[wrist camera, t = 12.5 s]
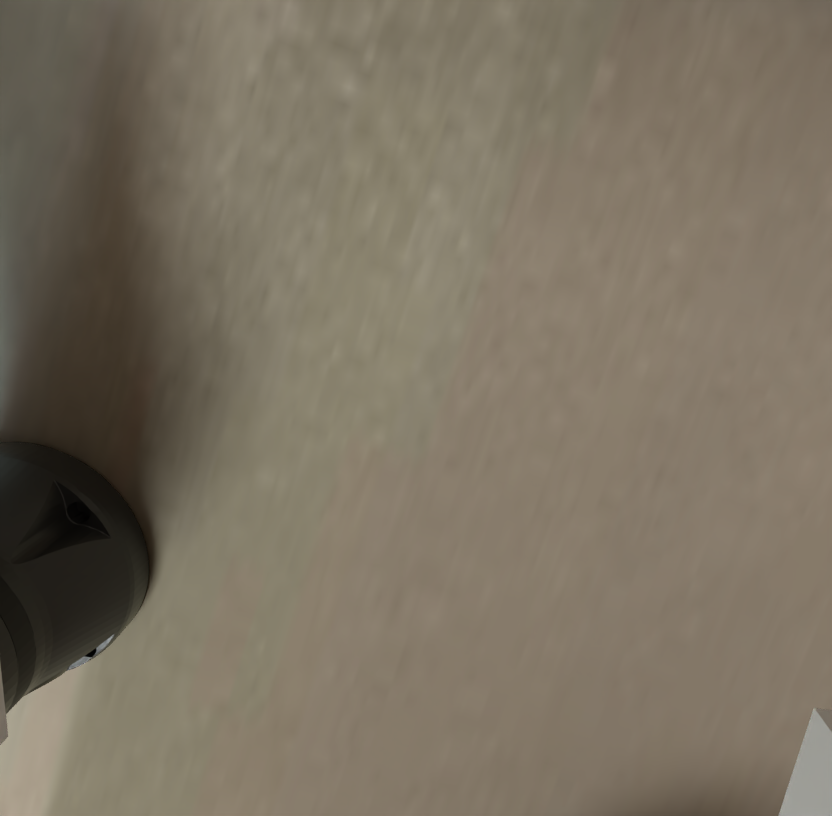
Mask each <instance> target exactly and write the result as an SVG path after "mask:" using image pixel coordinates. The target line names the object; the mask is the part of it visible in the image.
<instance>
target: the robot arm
mask: <svg viewBox="0 0 832 816" xmlns="http://www.w3.org/2000/svg"><path fill="white" fill-rule="evenodd" d="M148 576H149V563H148V554H147V549H146V544H145V541H144V537H143V534H142V532H141V529H140V527H139V525H138V523H137V520H136V518H135V517H134V515H133V513H132V511H131V510H130V508H129V507H128V505H127V504H126V502H125V501H124V500H123V498H122V497H121V496H120V495H119V493H118V492H117V491H116V490H115V489H114V488H113V487H112V486H111V485H110V484H109V483H108V482H107V481H106V480H105V479H104V478H103V477H102V476H100V475H99V474H98V473H97V472H95V471H94V470H93V469H91V468H90V467H88V466H87V465H85V464H84V463H82V462H80V461H79V460H77V459H75V458H73V457H71V456H69V455H67V454H65V453H62V452H60V451H57V450H55V449H51V448H48V447H45V446H41V445H36V444H30V443H21V442H5V443H0V745H1V744H2V742H3V741H4V740H5V739H6V738H7V737H8V731H7V721H6V714H7V713H8V712H9V710H10V709H11V708H12V707H13V706H14V705H15V704H16V703H17V702H18V701H19V700H20V699H21V698H22V697H23V696H25V695H27V694H28V693H30V692H32V691H34V690H36V689H38V688H40V687H41V686H43V685H45V684H47V683H49V682H50V681H52V680H54V679H56V678H57V677H59V676H60V675H62V674H63V673H64V672H65V671H67V670H70V669H73V668H75V667H78V666H80V665H82V664H84V663H86V662H88V661H89V660H91V659H93V658H94V657H96V656H97V655H99V654H100V653H101V652H103V651H104V650H105V649H106V648H107V647H108V646H109V645H111V644H112V643H113V641H114V640H115V639H116V638H117V637H118V636H119V635H120V633H121V632H122V631H123V630H124V629H125V628H126V626H127V625H128V624H129V623H130V622H131V621H132V619H133V618H134V617H135V615H136V613H137V612H138V610H139V608H140V606H141V604H142V602H143V599H144V597H145V593H146V589H147V584H148ZM779 816H832V710H828V709H820V708H814V709H813V712H812V715H811V718H810V721H809V724H808V727H807V730H806V734H805V737H804V740H803V743H802V746H801V749H800V752H799V755H798V758H797V761H796V764H795V767H794V770H793V773H792V776H791V779H790V782H789V785H788V788H787V791H786V794H785V797H784V800H783V803H782V807H781V810H780V813H779Z"/></svg>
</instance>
